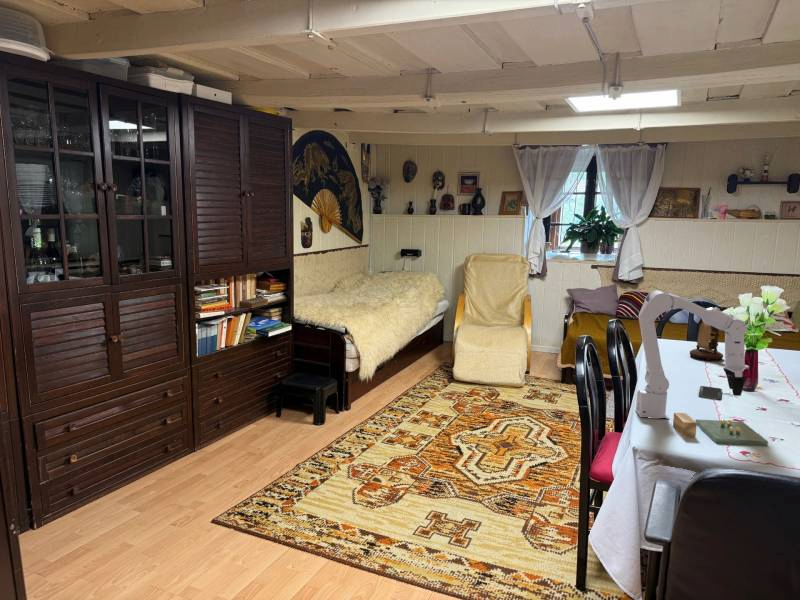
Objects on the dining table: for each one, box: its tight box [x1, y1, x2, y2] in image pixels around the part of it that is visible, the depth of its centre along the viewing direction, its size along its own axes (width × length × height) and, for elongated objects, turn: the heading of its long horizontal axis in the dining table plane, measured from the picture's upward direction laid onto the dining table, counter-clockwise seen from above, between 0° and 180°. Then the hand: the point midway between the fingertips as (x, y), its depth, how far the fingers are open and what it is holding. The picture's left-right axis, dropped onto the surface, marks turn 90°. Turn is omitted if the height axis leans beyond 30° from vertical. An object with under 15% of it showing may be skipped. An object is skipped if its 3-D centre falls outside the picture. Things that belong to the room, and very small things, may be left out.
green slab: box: [694, 418, 769, 447], centre depth 185 cm, size 15×17×4 cm
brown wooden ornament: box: [689, 317, 724, 362], centre depth 285 cm, size 15×15×20 cm
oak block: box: [672, 412, 698, 438], centre depth 187 cm, size 4×9×5 cm, turn 172°
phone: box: [698, 385, 723, 401], centre depth 228 cm, size 8×1×15 cm
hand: (735, 392), depth 195 cm, fingers open, 7 cm apart
